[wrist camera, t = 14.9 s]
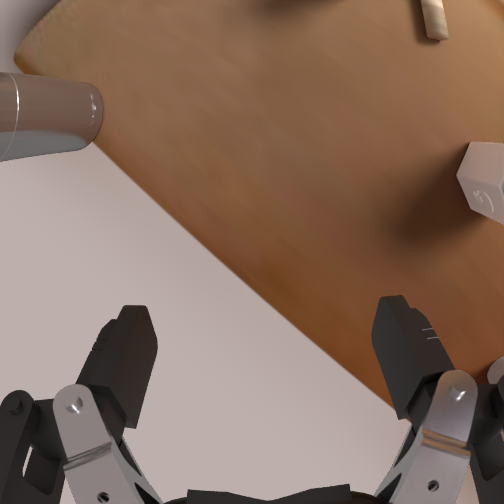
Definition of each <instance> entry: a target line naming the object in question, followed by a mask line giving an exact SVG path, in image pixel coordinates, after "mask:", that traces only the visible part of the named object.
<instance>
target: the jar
mask: <svg viewBox="0 0 504 504" xmlns="http://www.w3.org/2000/svg"><path fill="white" fill-rule="evenodd" d="M456 176H457V178H458V181H459V183H460V185H461V187H462V190H463V192H464V194H465V197H466V199H467V201H468V204H469V206H470V208H471V209H472V210H474V211H476V212H478V213H480V214H482V215H484V216H486V217H488V218H490V219H492V220H494V221H496V222H498V223H500V224H502V225H504V143H491V142H470V144H469V147H468V149H467V151H466V154H465V156H464V158H463V161H462V163H461V165H460V167H459V169H458V172H457V174H456Z"/></svg>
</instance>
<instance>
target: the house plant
mask: <svg viewBox="0 0 504 504" xmlns="http://www.w3.org/2000/svg"><path fill="white" fill-rule="evenodd" d="M503 375H504V356H502V357H500V358H499V359H497V360H496V361H495V362H494V363H493V364H492V365H491V367H490V369H489V371H488V373H487V378H488V381H489V384H497V382H498V381H499V379H500V378H501V377H502V376H503Z"/></svg>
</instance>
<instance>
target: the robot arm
mask: <svg viewBox="0 0 504 504" xmlns="http://www.w3.org/2000/svg"><path fill="white" fill-rule="evenodd" d="M102 118H103V102H102V99H101V96H100V94H99V92H98V90H97V89H96V88H95V87H94V86H92V85H90V84H87V83H82V82H76V81H70V80H65V79H59V78H52V77H44V76H37V75H28V74H18V73H7V72H0V162H2V161H7V160H13V159H19V158H24V157H32V156H38V155H45V154H52V153H61V152H69V151H77V150H81V149H83V148H85V147H86V146H87V145H89V144H90V143H91V142H92V141H93V139H94V138H95V137H96V135H97V133H98V131H99V129H100V126H101V123H102ZM371 337H372V345H373V348H374V351H375V353H376V356H377V359H378V361H379V364H380V367H381V370H382V373H383V375H384V378H385V381H386V384H387V387H388V390H389V393H390V396H391V399H392V402H393V405H394V408H395V411H396V414H397V417H398V420H400V419H405V418H409V417H410V420H411V423H412V424H411V426H410V427H409V429H408V432H407V434H406V436H405V439H404V441H403V443H402V445H401V448H400V450H399V452H398V454H397V456H396V458H395V460H394V462H393V464H392V466H391V468H390V470H389V472H388V474H387V475H386V477H385V478H384V479H383V481H382V482H381V484H380V485H379V487H378V489H377V490H376V492H375V494H374V495H373V496H372V495H369V494H366V493H361V492H355V491H350V485H349V484H344V485H337V486H331V487H323V488H315V489H309V490H306V491H303V492H299V493H296V494H293V495H290V496H286V497H283V498H280V499H275V500H271V501H265V500H260V499H255V498H251V497H246V496H242V495H237V494H233V493H229V492H217V491H216V492H215V491H200V490H189V489H188V493H187V497H184V498H179V499H174V500H171V501H169V502H166V503H163V501H162V500H161V498H160V497H159V496H158V494H157V493H156V491H155V490H154V489H153V487H152V486H151V485H150V484H149V482H148V481H147V479H146V478H145V476H144V474H143V473H142V471H141V469H140V467H139V466H138V464H137V462H136V460H135V458H134V456H133V455H132V453H131V451H130V449H129V447H128V445H127V443H126V441H125V439H124V437H123V436H122V435H123V431H124V428H125V427H127V428H134V429H136V427H137V423H138V419H139V416H140V412H141V408H142V404H143V401H144V397H145V393H146V390H147V386H148V382H149V379H150V376H151V372H152V368H153V365H154V362H155V358H156V355H157V349H158V345H157V337H156V334H155V331H154V328H153V325H152V321H151V318H150V315H149V312H148V309H147V307H146V306H143V305H125V306H123V308H122V310H121V312H120V314H119V316H118V318H117V319H112V320H110V321H109V322H108V323H107V324H106V325H105V326H104V327H103V328H102V329H101V331H100V333H99V335H98V338H97V341H96V342H95V343H94V345H93V347H92V351H91V352H90V353H89V356H88V358H87V360H86V362H85V364H84V366H83V368H82V370H81V373H80V375H79V377H78V379H77V381H76V383H75V384H73V385H69V386H66V387H65V388H63V389H62V390H60V391H59V392H58V393H57V395H56V396H55V398H54V399H46V400H35V401H34V400H33V398H32V397H31V396H30V395H29V393H27V392H25V391H23V390H16V391H13V392H11V393H10V394H8V395H7V396H6V397H5V398H4V400H3V401H2V403H1V406H0V504H59V503H60V498H61V494H62V489H63V485H64V480H65V476H66V479H67V481H68V484H69V487H70V489H71V492H72V494H73V497H74V499H75V502H76V504H455V503H456V500H457V497H458V495H459V492H460V489H461V486H462V483H463V480H464V477H465V474H466V471H467V468H468V465H469V464H470V467H471V471H472V475H473V479H474V482H475V487H476V491H477V495H478V499H479V504H504V441H503V439H502V436H501V432H502V431H504V375H503V376H502V377H501V378H500V379H499V381H498V382H497V384H479V383H476V382H475V381H474V379H473V378H472V377H471V376H470V375H469V374H467V373H465V372H463V371H459V370H456V369H455V368H454V366H453V364H452V362H451V360H450V358H449V356H448V355H447V353H446V351H445V349H444V347H443V345H442V344H441V342H440V340H439V338H437V335H436V333H435V331H434V330H432V326H431V325H430V323H429V321H428V320H427V318H426V317H425V316H424V315H423V314H422V313H421V312H419V311H418V310H417V309H416V308H411V309H410V307H409V305H408V303H407V302H406V300H405V298H404V297H403V296H402V295H397V296H386V297H381V298H380V300H379V303H378V307H377V312H376V316H375V320H374V324H373V328H372V334H371ZM30 446H31V447H32V448H33V449H32V452H31V455H30V458H29V461H28V465H27V468H26V471H25V475H24V477H23V472H22V471H23V466H24V463H25V460H26V457H27V453H28V450H29V447H30Z"/></svg>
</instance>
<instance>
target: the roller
mask: <svg viewBox="0 0 504 504" xmlns="http://www.w3.org/2000/svg"><path fill="white" fill-rule="evenodd" d="M420 1H421V6H422V11H423V16H424V21H425V27H426V33H427V37H428V38H431V39H436V40H447V39H448V38H449V35H448V30H447V24H446V19H445V14H444V10H443V5H442V1H441V0H420Z"/></svg>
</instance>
